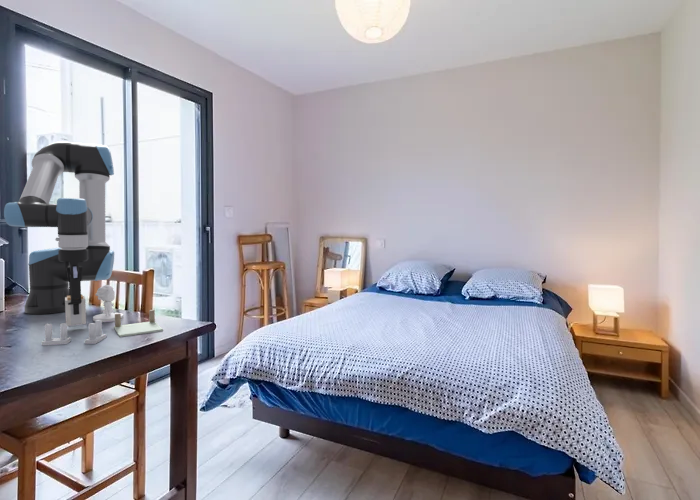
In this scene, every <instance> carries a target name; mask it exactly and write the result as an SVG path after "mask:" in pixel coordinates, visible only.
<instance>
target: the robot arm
mask: <svg viewBox="0 0 700 500" xmlns="http://www.w3.org/2000/svg"><path fill="white" fill-rule="evenodd" d="M31 167H32V169H31V171H30V174H29V176H28V179H27V181H26V183H25V186H24V188H23V191H22V193H21V196H20V198H19V200H18V201H14V202H8V203H7V202H6V204H5V205H4V208H3V218H4V221H5V223H6V224H7V225H8V226H10V227H21V228H57V237H56V238H55V239H54V240H55V241H56V242H58V243H57V246H58V247H55V248H54V247H52V248H47V249H45V248H44V249H39V250H33V251H31V253H29V256H28V274H29V276H28V277H29V293H28V295H27V298H26V301H25V305H24V306H23V307H24V313H25V314H27V315H28V314H29V315H49V314H57V313H62V312H64V313H65V297H67V296H69V295H71V302H70V303H68V305H70V309H71V325H73V326H79V325H78V324H81V325H83V324H82V314H81V302H82V300H81V294H82V286H81V283H82V282H87V281H88V282H93V281H95V282H98V281H106V280H108V279H110V278H111V276H112V273H113V269H114V264H115V263H114V262H115V251H114V250H112V249H111V246H110V245H109V244H108V243H107V242H106V183H108V182H109V181H110V180H111V178H110V176H114V174H115V171H114V163H113V159H112V153H111V150H110V148H109V146H107V145H104V144H97V143H84V142H83V143H82V142H76V141H75V142H73V141H71V142H70V141H64V140H63V141H56V142H52V143H50V144H48V145H46V146H43V147H42V148H41V149H39V150H38V151H37V152H36V153H35V154H34V155H33V157H32V160H31ZM63 173H71V174H72V173H74V178H75V179H77V181H78V182H79V185H78V187H79V198H74V197H73V198H71V197H59V198H57V200H56V203H50V202H51V198H52V196H53V192H54V190H55V187H56V184H57V181H58V179H59V176H61V175H62V174H63Z"/></svg>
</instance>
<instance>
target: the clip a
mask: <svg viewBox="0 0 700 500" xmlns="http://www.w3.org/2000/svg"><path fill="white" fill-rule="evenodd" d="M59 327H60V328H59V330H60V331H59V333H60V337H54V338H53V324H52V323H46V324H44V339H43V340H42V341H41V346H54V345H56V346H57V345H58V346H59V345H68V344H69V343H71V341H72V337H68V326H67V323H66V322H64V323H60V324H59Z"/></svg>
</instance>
